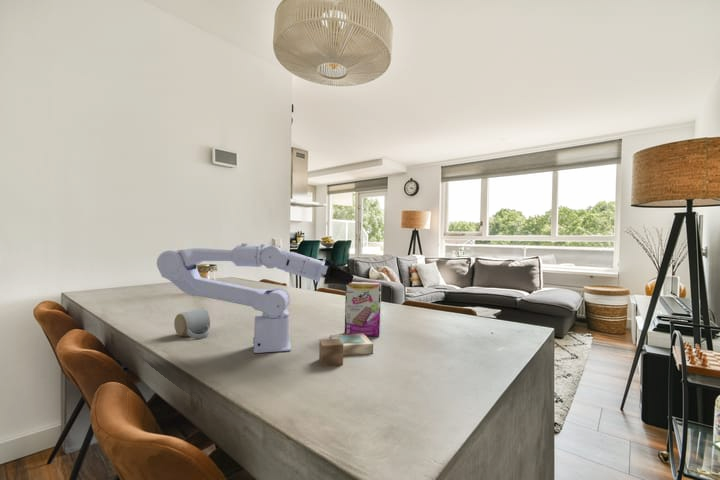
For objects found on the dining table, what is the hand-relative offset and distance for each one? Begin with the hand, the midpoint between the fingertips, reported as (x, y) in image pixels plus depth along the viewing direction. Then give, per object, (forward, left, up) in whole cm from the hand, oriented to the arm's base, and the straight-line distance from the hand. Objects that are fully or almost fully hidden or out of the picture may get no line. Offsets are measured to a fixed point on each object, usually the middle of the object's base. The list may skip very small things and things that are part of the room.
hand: (351, 280), depth 94 cm
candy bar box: (+7, +12, -19) cm, 23 cm away
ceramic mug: (-44, +22, -19) cm, 53 cm away
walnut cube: (-7, -10, -19) cm, 23 cm away
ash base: (0, -1, -19) cm, 19 cm away
